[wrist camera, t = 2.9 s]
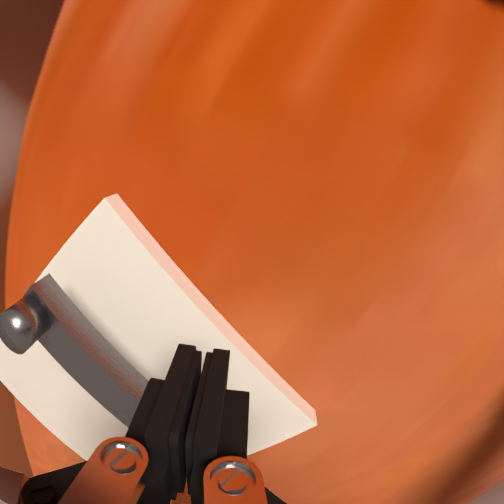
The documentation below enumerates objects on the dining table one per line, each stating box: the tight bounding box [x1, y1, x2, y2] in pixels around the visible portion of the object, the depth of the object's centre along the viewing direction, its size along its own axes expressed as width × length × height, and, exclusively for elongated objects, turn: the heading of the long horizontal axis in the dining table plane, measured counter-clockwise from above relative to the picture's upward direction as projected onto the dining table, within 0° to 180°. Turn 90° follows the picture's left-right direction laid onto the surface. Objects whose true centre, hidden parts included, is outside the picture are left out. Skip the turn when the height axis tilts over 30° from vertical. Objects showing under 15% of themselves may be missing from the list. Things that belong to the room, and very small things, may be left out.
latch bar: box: [0, 273, 248, 444], centre depth 15 cm, size 16×3×6 cm, turn 39°
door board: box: [0, 194, 317, 504], centre depth 18 cm, size 19×22×6 cm
